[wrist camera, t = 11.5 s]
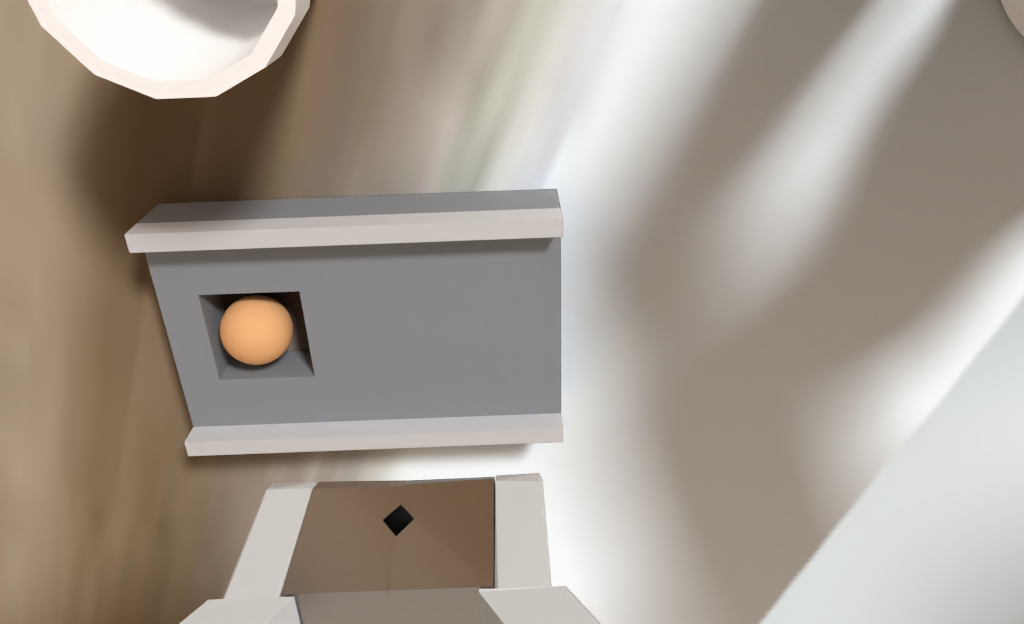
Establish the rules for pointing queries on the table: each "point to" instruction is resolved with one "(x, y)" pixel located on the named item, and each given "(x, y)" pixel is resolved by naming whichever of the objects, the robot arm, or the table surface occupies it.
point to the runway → (368, 319)
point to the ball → (256, 329)
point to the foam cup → (173, 40)
